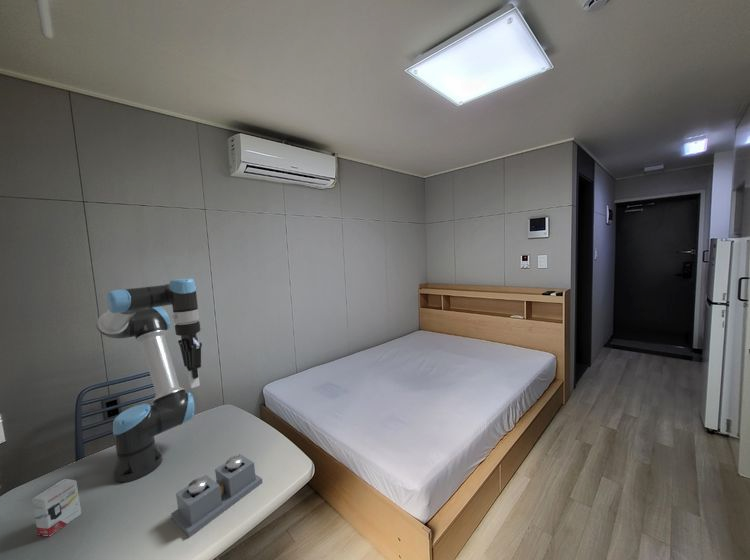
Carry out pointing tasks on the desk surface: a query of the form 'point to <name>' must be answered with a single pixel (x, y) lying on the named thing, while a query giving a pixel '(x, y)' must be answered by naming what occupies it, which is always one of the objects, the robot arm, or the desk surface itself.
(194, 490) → the knob
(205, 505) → the mount
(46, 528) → the ink box
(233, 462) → the knob
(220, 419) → the desk surface
